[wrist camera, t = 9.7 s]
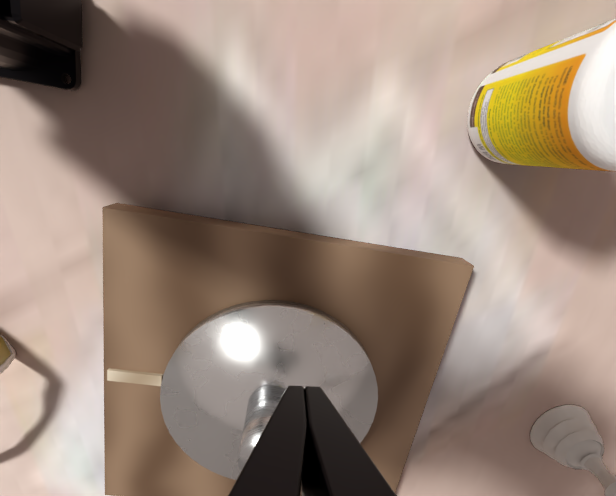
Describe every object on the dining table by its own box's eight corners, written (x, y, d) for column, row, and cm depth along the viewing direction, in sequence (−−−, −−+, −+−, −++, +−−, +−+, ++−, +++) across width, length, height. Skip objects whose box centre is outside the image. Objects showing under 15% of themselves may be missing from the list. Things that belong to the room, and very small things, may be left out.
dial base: (115, 475, 25) (103, 497, 24) (116, 202, 19) (100, 208, 18) (382, 496, 28) (387, 518, 26) (461, 258, 21) (475, 267, 20)
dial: (163, 290, 19) (121, 338, 14) (391, 309, 20) (422, 358, 15) (168, 496, 24) (137, 582, 19) (350, 502, 25) (364, 585, 20)
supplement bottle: (500, 182, 20) (700, 215, 10) (443, 117, 19) (609, 84, 9) (574, 111, 19) (877, 71, 9) (519, 37, 18) (804, -102, 8)
